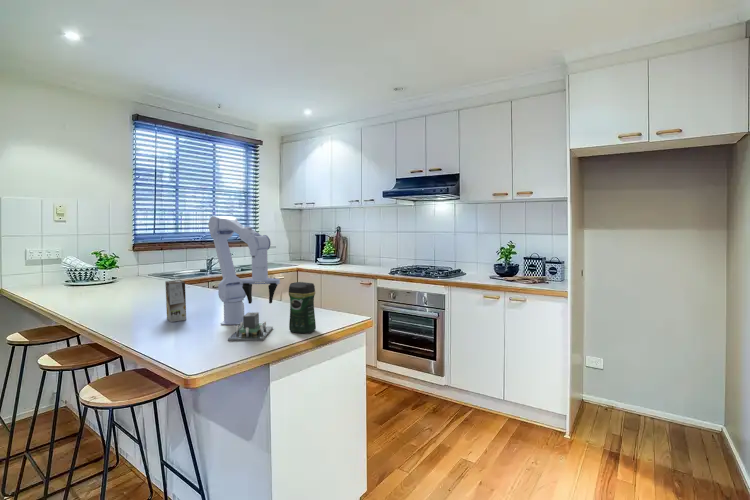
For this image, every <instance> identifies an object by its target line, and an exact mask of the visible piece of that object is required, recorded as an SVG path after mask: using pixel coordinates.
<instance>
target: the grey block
mask: <svg viewBox="0 0 750 500" xmlns="http://www.w3.org/2000/svg"><path fill="white" fill-rule="evenodd" d="M259 314H260V312H246V314H244V316H243V327H242V328H241V329H240V333H246V327H249V333H254V332H258V331H259V329H260V325H263V322H262V323H260V315H259Z"/></svg>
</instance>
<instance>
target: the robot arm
mask: <svg viewBox="0 0 750 500" xmlns="http://www.w3.org/2000/svg"><path fill="white" fill-rule="evenodd" d="M207 225H208V226H207V227H208V231H209V234H210V238H211V239H212V240H213V243H214V244H213V245H214V248H215V251H216V256H217V260H218V264H219V268H220V271H221V276H222V279H221V280H220V282H219V283H218V285H217V288H218V292H217V293H218V299H220V301H221V302H222V303H223V321H222V322H221V323H220V325H221V326H222V325H231V326H234V325H236V326H237V325H240V322H243V316H244V315H245V303H244V302H243V301H245V298H247V303H248V304H252V303H253V296H252V295H253V293H252V289H253V285H268V303H269V304H272V303H273V299H274V294H275V292H276V290H277V287H278V285H280V284H281V282H280V281H281V278H272V277H269V276H268V272H269V271H268V268H269V267H268V263H269V262H268V250H269V249H270V248H271V244H272V243H271V239H270V238H269V236H268V235H267V234H263V235H262V234H260V232H258V231H255V230H254V229H253V227H251V226H244V225H243V224H242V223H240V222H239V221H238V218H237V217H235V216H234V215H229V216H227V215H225V216H224V215H223V216H222V215H220V216H219V215H218V216H217V215H211V217H210V218H209V221H208V224H207ZM234 233H235V234H237V235H238V237H239V239H240V240H241V241H243V242H244V243H245V244H247V247H248V249H249V254H250V256H251V278H250V277H249V278H240V277H239V276H237V273H236V270H235V266H234V261H233V257H232V254H231V250H230V247H229V246H230V245H229V243H228V242H229V239H230V238H231V237H233V235H234Z"/></svg>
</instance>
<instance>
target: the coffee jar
mask: <svg viewBox="0 0 750 500" xmlns="http://www.w3.org/2000/svg"><path fill="white" fill-rule="evenodd" d="M315 295H316V288H315V284H314V283H312V282H303V281H297V282H291V283H289V287H288V296H289V303H290V304H289V305H290V306H289V307H290V308H289V322H288V323H289V324H288V325H289V328H288V330H289V331H290V332H292V333H295V334H296V333H297V334H307V333H309V334H311V333H313V332H315V331H316V328H317V325H316V317H315V316H316V315H315V305H314V303H315V301H314V300H315Z"/></svg>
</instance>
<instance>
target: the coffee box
mask: <svg viewBox="0 0 750 500" xmlns="http://www.w3.org/2000/svg"><path fill="white" fill-rule="evenodd" d="M165 300H166V301H165V303H166V304H165V305H166V319H167V320H168V321H169V322H170V323H173V322H175V323H176V322H181V321H186V320H187V307H186V306H187V305H186V304H187V301H186V282H185V281H183V280H181V279H180V280H179V279H176V280H166V281H165Z"/></svg>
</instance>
